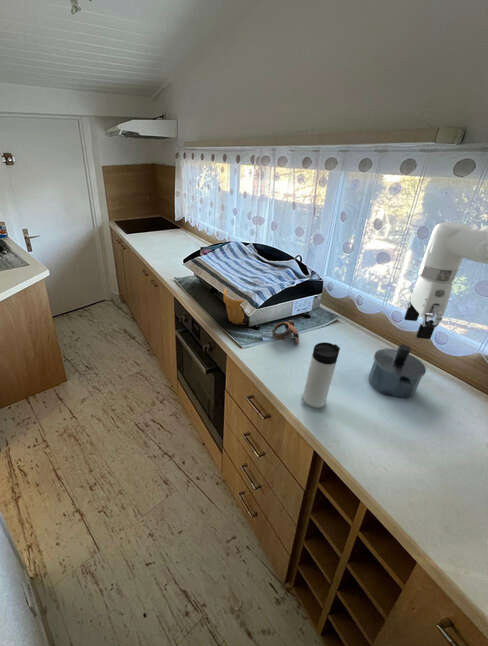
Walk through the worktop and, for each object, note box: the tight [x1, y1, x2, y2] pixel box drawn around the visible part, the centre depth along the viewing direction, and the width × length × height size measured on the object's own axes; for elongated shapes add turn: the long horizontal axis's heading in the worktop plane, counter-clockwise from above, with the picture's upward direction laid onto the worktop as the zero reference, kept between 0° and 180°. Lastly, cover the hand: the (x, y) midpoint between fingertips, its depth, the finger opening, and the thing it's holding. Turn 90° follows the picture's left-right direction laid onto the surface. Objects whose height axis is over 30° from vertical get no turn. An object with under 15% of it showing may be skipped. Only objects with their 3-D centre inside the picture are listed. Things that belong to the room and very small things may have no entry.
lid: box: [373, 344, 427, 379], centre depth 92 cm, size 13×13×7 cm
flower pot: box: [223, 288, 246, 325], centre depth 131 cm, size 14×14×13 cm
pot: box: [368, 347, 422, 400], centre depth 95 cm, size 12×18×8 cm
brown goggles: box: [271, 319, 300, 345], centre depth 119 cm, size 12×10×8 cm
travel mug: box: [302, 342, 341, 410], centre depth 87 cm, size 6×7×20 cm
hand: (416, 328), depth 86 cm, fingers open, 9 cm apart
